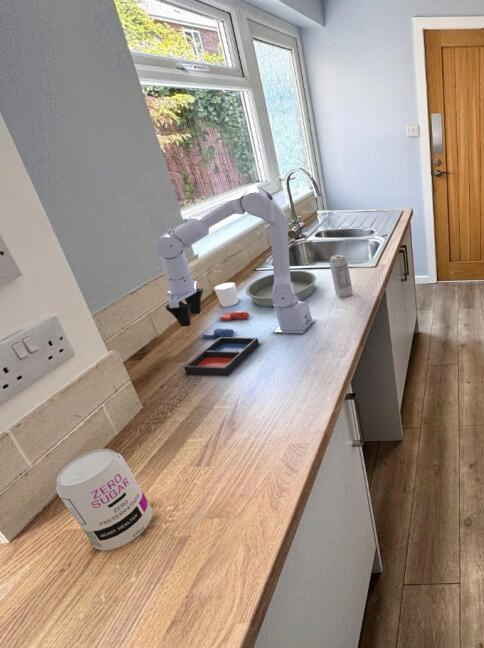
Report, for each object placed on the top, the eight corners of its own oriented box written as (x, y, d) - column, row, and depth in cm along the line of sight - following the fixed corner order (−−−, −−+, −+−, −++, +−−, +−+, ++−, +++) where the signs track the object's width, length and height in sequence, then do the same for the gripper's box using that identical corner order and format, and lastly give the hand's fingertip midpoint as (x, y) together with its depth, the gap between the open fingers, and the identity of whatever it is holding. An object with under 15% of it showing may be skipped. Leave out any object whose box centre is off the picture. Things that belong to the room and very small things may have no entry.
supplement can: (117, 509, 73) (79, 448, 66) (164, 504, 73) (131, 443, 67) (82, 555, 65) (35, 492, 59) (135, 549, 66) (94, 486, 59)
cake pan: (241, 313, 140) (237, 302, 138) (257, 285, 162) (254, 275, 160) (315, 303, 145) (312, 291, 143) (320, 277, 167) (318, 267, 165)
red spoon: (252, 316, 138) (250, 309, 137) (246, 321, 135) (244, 314, 134) (227, 315, 139) (225, 309, 138) (220, 320, 136) (218, 314, 135)
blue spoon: (237, 333, 128) (235, 326, 127) (230, 338, 125) (228, 332, 124) (211, 332, 129) (208, 326, 128) (203, 338, 126) (201, 331, 125)
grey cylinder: (350, 289, 154) (343, 252, 148) (355, 295, 149) (348, 257, 143) (334, 293, 151) (326, 256, 145) (338, 299, 147) (331, 261, 140)
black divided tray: (259, 344, 121) (257, 337, 120) (227, 375, 108) (224, 368, 106) (223, 343, 122) (220, 336, 121) (186, 374, 109) (183, 366, 108)
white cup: (231, 307, 145) (225, 290, 142) (215, 306, 146) (209, 289, 143) (244, 299, 151) (239, 282, 148) (228, 298, 152) (223, 281, 149)
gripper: (174, 267, 118) (186, 309, 123) (150, 287, 105) (164, 332, 110) (200, 266, 119) (211, 307, 125) (180, 285, 106) (193, 330, 112)
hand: (191, 319), depth 118 cm, fingers open, 7 cm apart
